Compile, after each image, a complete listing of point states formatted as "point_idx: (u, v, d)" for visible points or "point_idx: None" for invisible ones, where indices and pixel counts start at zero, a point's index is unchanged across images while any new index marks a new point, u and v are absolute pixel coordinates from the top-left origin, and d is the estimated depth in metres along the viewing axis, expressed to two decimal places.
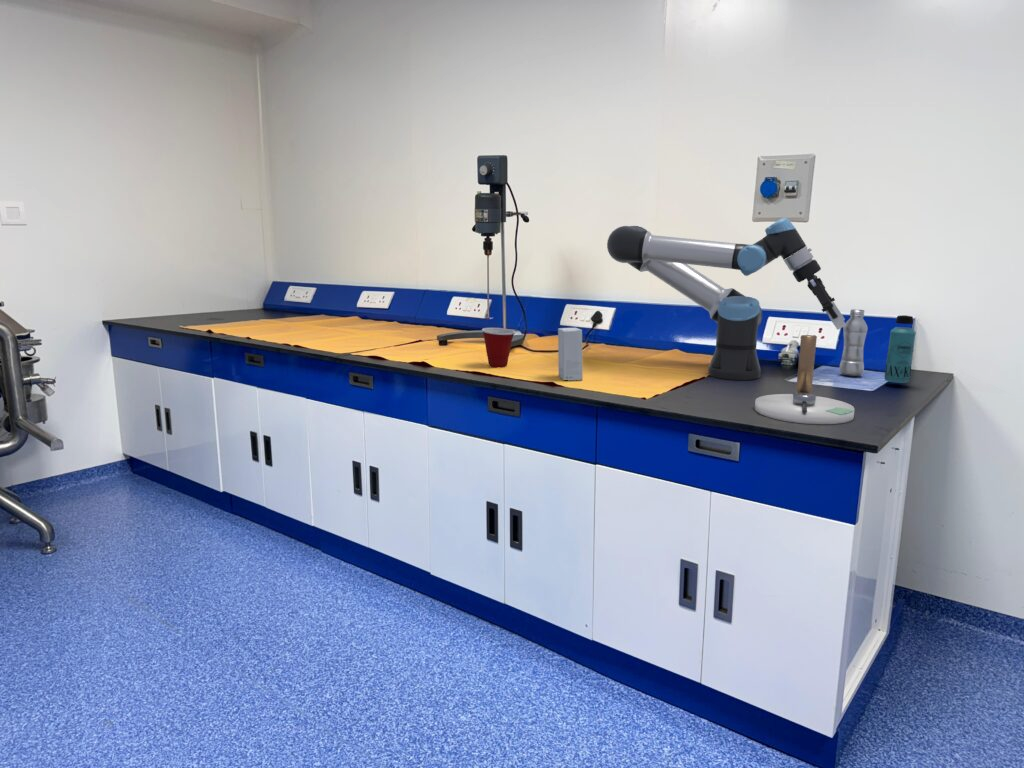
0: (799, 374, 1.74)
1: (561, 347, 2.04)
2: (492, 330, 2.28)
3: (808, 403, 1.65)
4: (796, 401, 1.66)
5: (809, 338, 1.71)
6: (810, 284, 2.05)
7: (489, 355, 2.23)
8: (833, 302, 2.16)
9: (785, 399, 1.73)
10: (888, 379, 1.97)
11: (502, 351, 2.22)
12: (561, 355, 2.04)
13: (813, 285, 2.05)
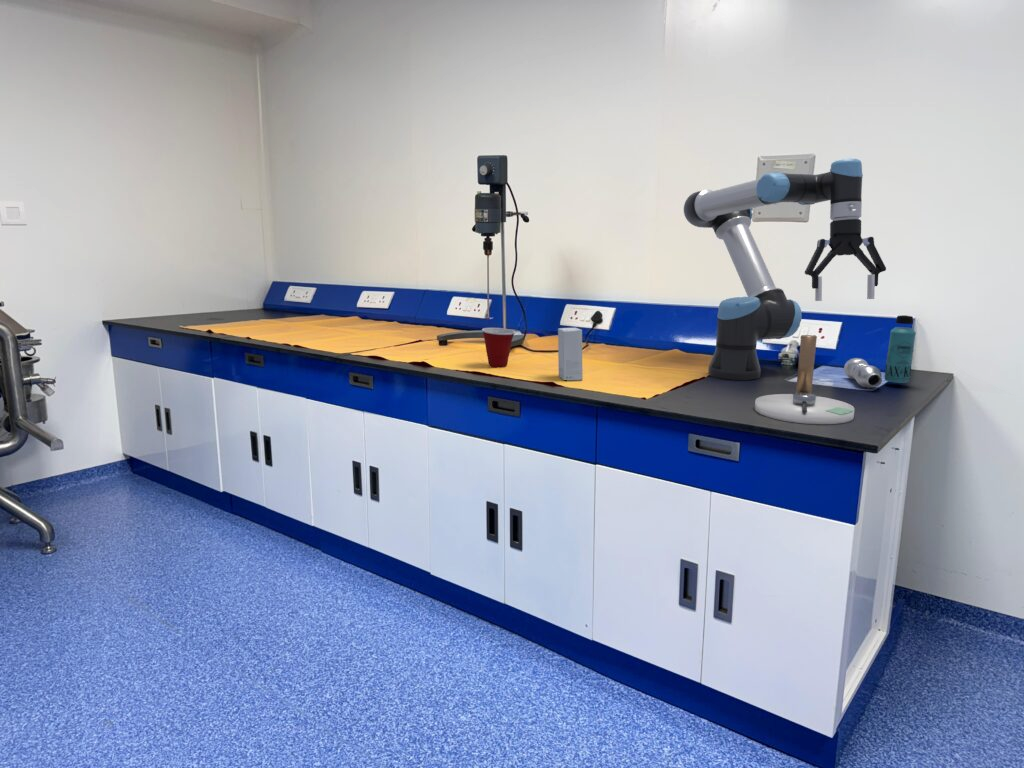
0: (799, 374, 1.74)
1: (561, 347, 2.04)
2: (492, 330, 2.28)
3: (808, 403, 1.65)
4: (796, 401, 1.66)
5: (809, 338, 1.71)
6: (817, 243, 1.88)
7: (489, 355, 2.23)
8: (871, 275, 1.86)
9: (785, 399, 1.73)
10: (888, 379, 1.97)
11: (502, 351, 2.22)
12: (561, 355, 2.04)
13: (818, 246, 1.88)
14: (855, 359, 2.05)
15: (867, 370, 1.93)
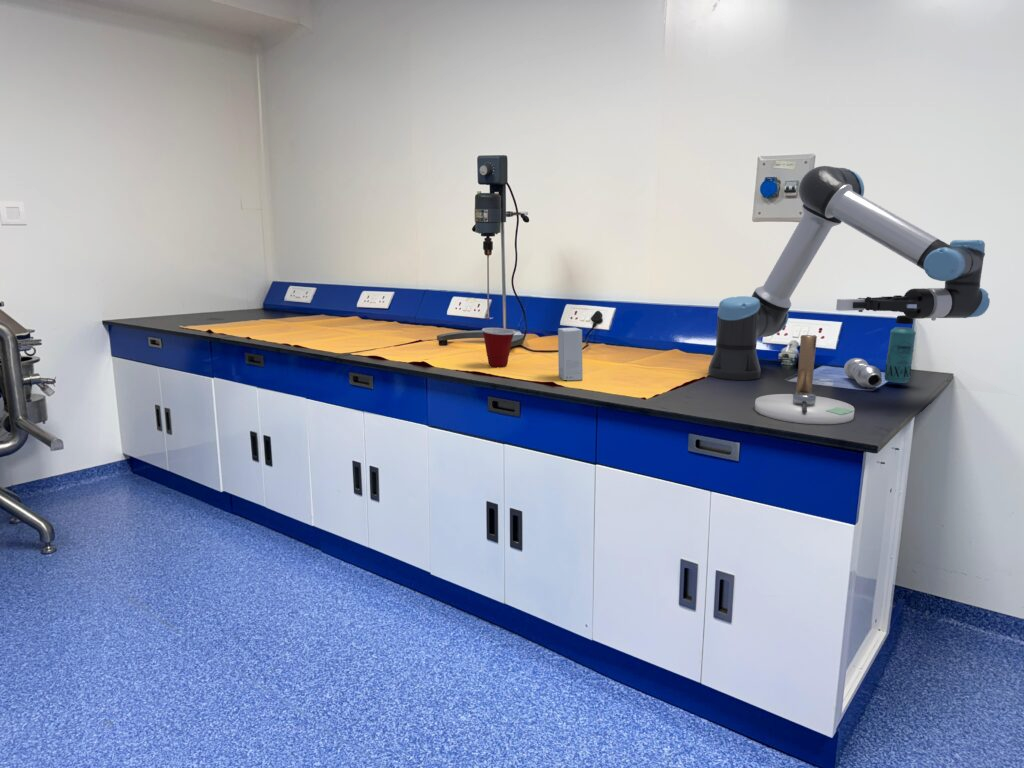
0: (799, 374, 1.74)
1: (561, 347, 2.04)
2: (492, 330, 2.28)
3: (808, 403, 1.65)
4: (796, 401, 1.66)
5: (809, 338, 1.71)
6: (912, 302, 1.68)
7: (489, 355, 2.23)
8: (861, 309, 1.73)
9: (785, 399, 1.73)
10: (888, 379, 1.97)
11: (502, 351, 2.22)
12: (561, 355, 2.04)
13: (908, 304, 1.69)
14: (855, 359, 2.05)
15: (867, 370, 1.93)
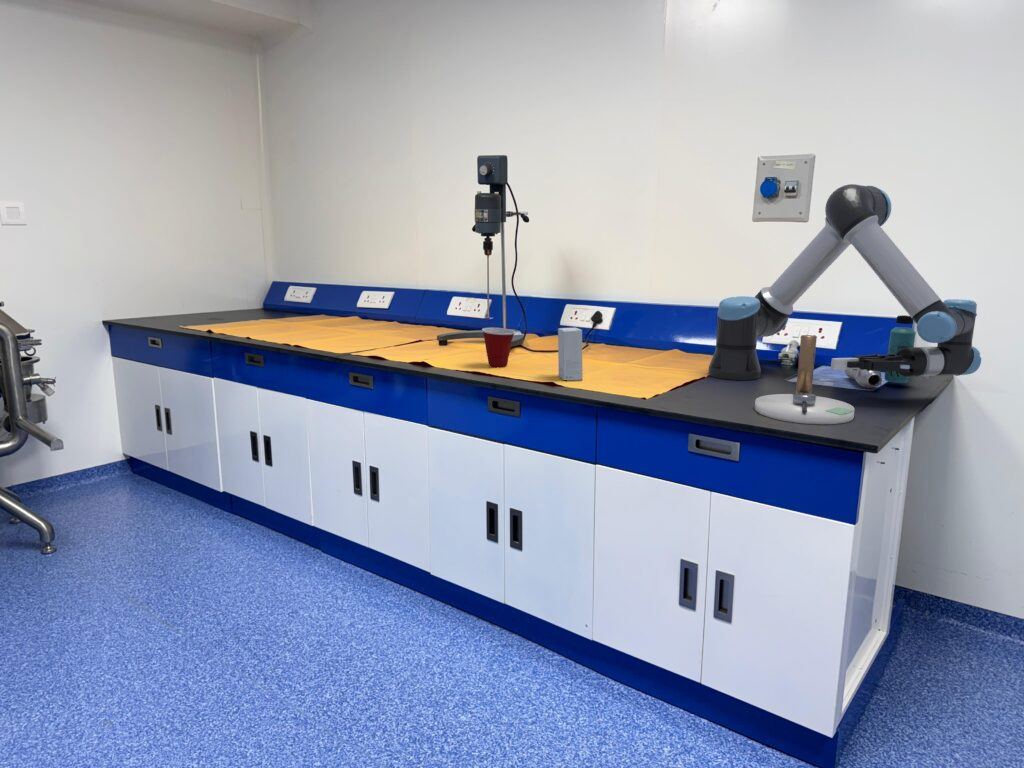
0: (799, 374, 1.74)
1: (561, 347, 2.04)
2: (492, 330, 2.28)
3: (808, 403, 1.65)
4: (796, 401, 1.66)
5: (809, 338, 1.71)
6: (905, 363, 1.72)
7: (489, 355, 2.23)
8: (855, 368, 1.76)
9: (785, 399, 1.73)
10: (888, 379, 1.97)
11: (502, 351, 2.22)
12: (561, 355, 2.04)
13: (901, 364, 1.72)
14: None
15: None
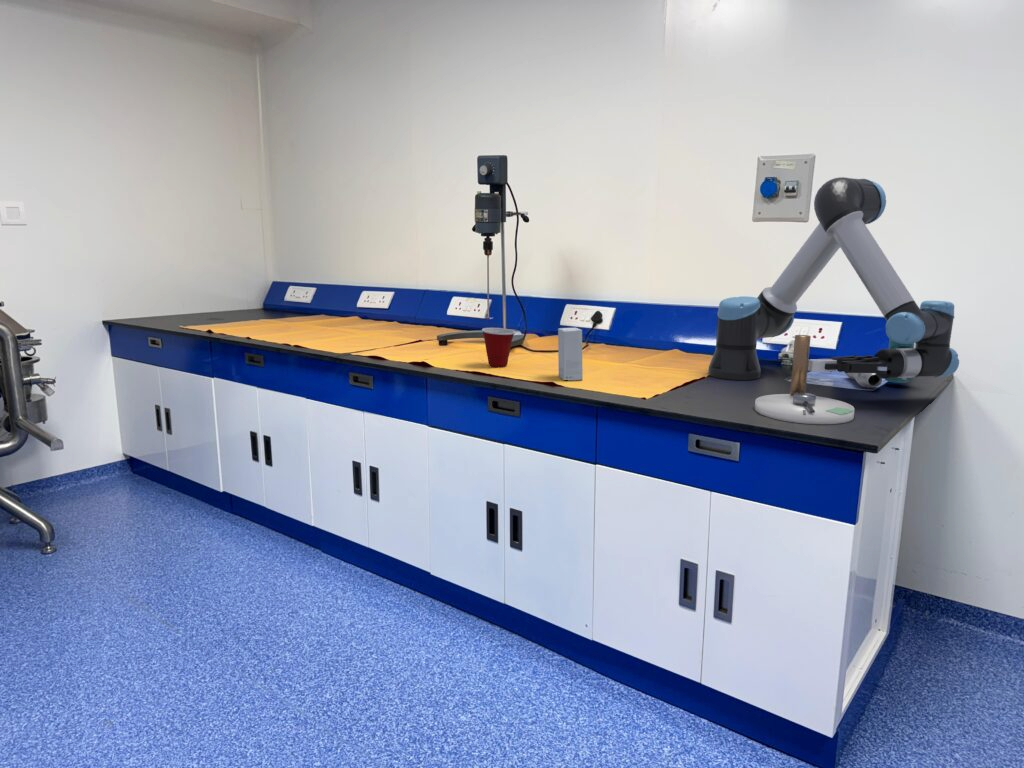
0: (794, 374, 1.74)
1: (561, 347, 2.04)
2: (492, 330, 2.28)
3: (810, 403, 1.65)
4: (797, 401, 1.66)
5: (804, 338, 1.71)
6: (882, 365, 1.70)
7: (489, 355, 2.23)
8: None
9: (785, 399, 1.73)
10: (888, 379, 1.97)
11: (502, 351, 2.22)
12: (561, 355, 2.04)
13: (879, 366, 1.71)
14: None
15: None
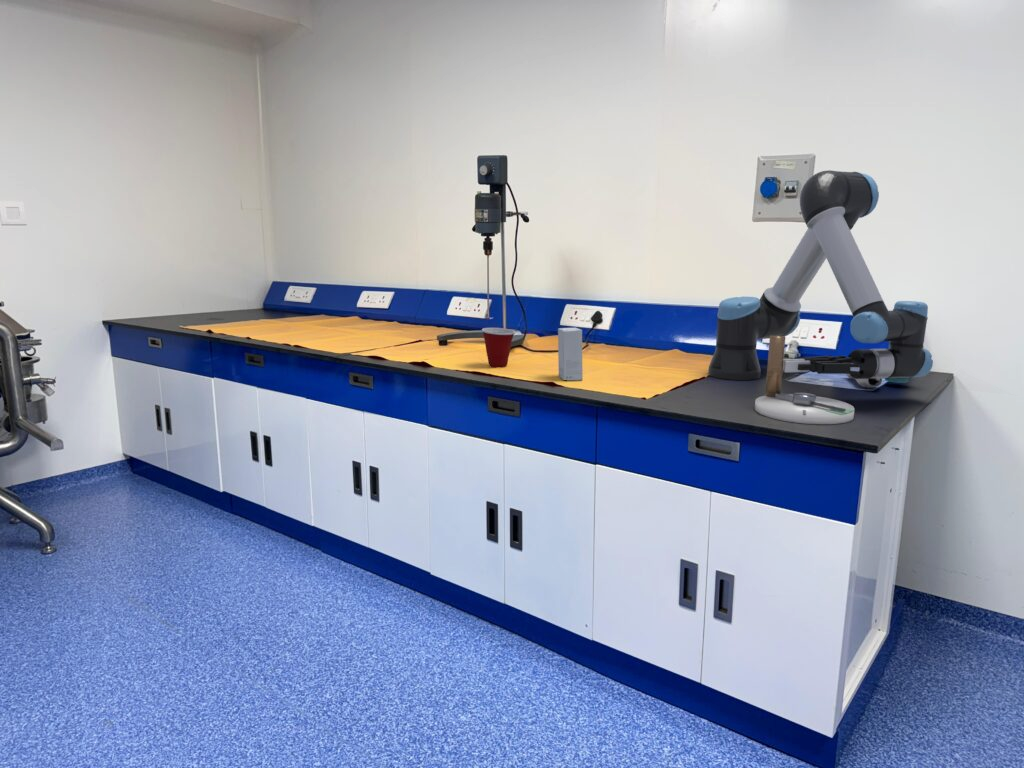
0: (774, 375, 1.72)
1: (561, 347, 2.04)
2: (492, 330, 2.28)
3: None
4: (806, 402, 1.65)
5: (784, 338, 1.71)
6: (855, 365, 1.70)
7: (489, 355, 2.23)
8: None
9: (785, 399, 1.73)
10: (888, 379, 1.97)
11: (502, 351, 2.22)
12: (561, 355, 2.04)
13: (851, 367, 1.70)
14: None
15: None
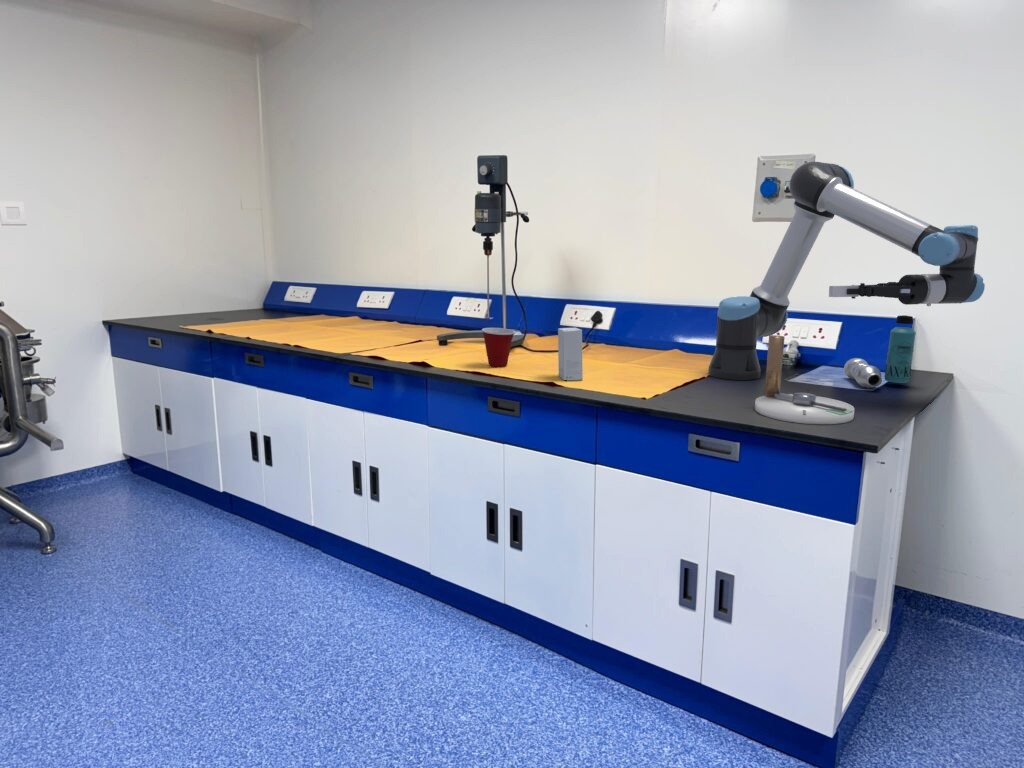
0: (774, 375, 1.72)
1: (561, 347, 2.04)
2: (492, 330, 2.28)
3: (815, 402, 1.66)
4: (806, 402, 1.65)
5: (783, 338, 1.71)
6: (905, 287, 1.70)
7: (489, 355, 2.23)
8: None
9: (785, 399, 1.73)
10: (888, 379, 1.97)
11: (502, 351, 2.22)
12: (561, 355, 2.04)
13: (902, 289, 1.70)
14: (855, 359, 2.05)
15: (867, 370, 1.93)
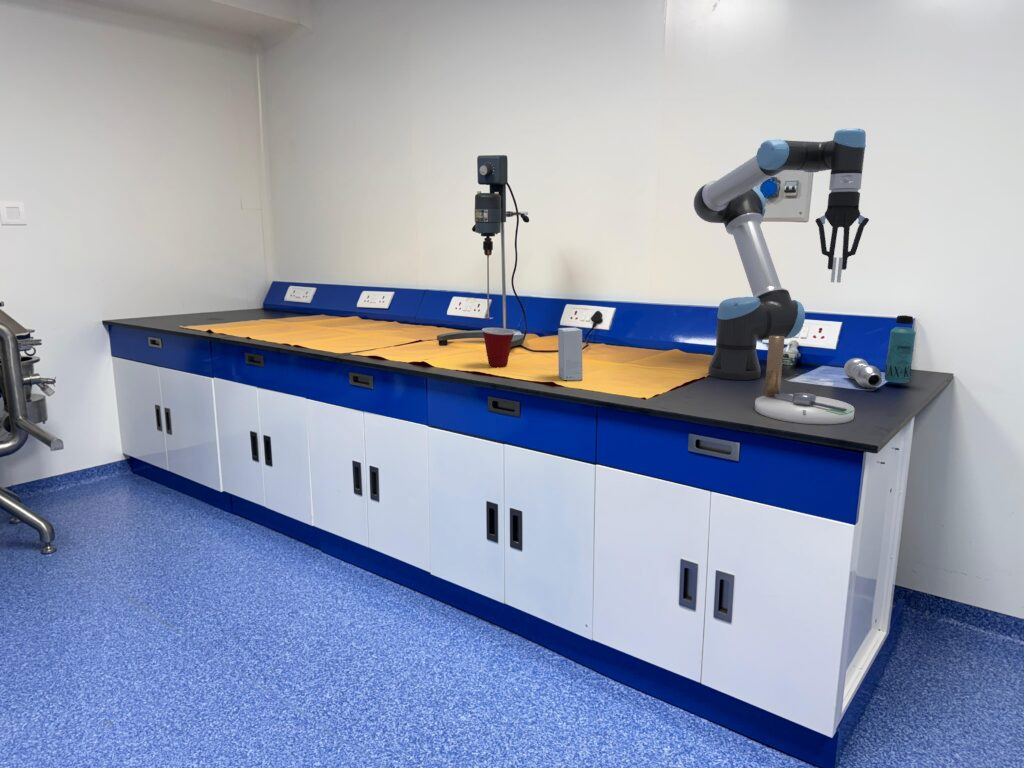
0: (774, 375, 1.72)
1: (561, 347, 2.04)
2: (492, 330, 2.28)
3: (815, 402, 1.66)
4: (806, 402, 1.65)
5: (783, 338, 1.71)
6: (816, 223, 1.88)
7: (489, 355, 2.23)
8: (839, 258, 1.85)
9: (785, 399, 1.73)
10: (888, 379, 1.97)
11: (502, 351, 2.22)
12: (561, 355, 2.04)
13: None
14: (855, 359, 2.05)
15: (867, 370, 1.93)
